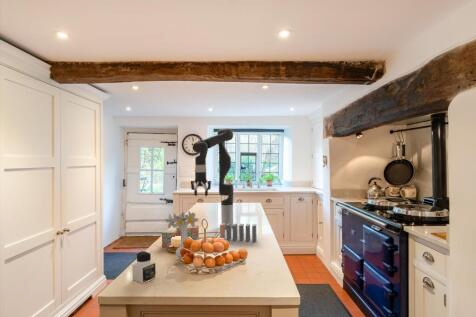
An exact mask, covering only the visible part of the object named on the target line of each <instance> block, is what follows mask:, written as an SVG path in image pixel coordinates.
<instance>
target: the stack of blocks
mask: <svg viewBox="0 0 476 317" xmlns="http://www.w3.org/2000/svg"><path fill="white" fill-rule="evenodd" d="M199 227H200V226H199V225H196V224H195V226H194V227H192V226H191V224H188V226H187V237H189V236H190V237H191V238H192V239H193V240H197V239H199V235H200V231H199ZM175 236H181V230H179V228H178V226H177V227H176V229H164V230H163V231H162V232H161V247H162V248H168V247H169V246H170V245H171V238H172V237H175Z"/></svg>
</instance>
